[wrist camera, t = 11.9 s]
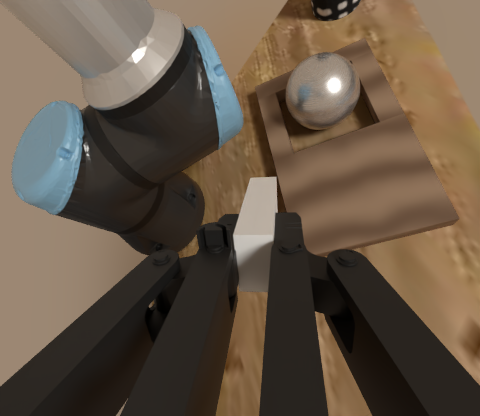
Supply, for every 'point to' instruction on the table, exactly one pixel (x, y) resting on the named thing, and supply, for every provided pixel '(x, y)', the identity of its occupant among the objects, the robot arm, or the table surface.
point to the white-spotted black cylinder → (333, 8)
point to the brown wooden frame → (357, 170)
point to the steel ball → (322, 91)
